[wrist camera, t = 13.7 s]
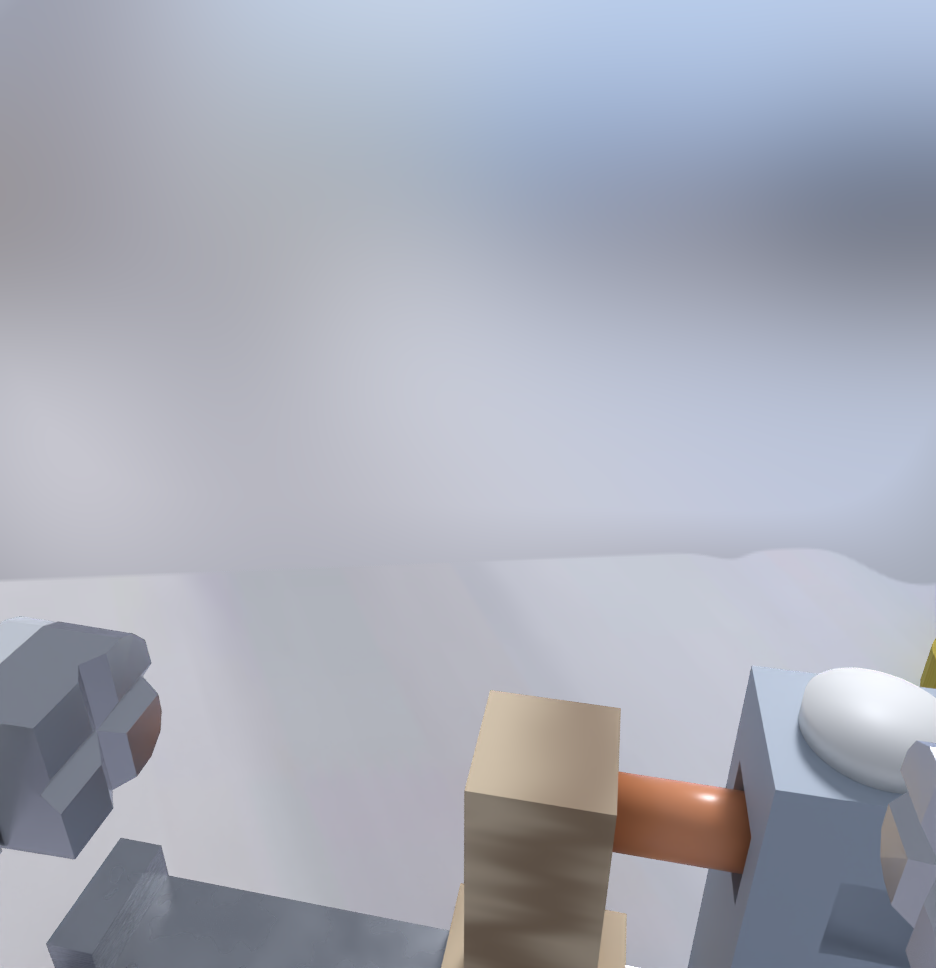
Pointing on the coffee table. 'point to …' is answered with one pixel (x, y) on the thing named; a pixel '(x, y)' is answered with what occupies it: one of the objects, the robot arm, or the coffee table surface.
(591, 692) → the coffee table surface
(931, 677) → the yellow printed disc
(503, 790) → the beige post on base
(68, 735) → the robot arm
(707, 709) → the coffee table surface
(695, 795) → the reddish-brown cylinder
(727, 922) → the blue-grey post
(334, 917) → the rail
